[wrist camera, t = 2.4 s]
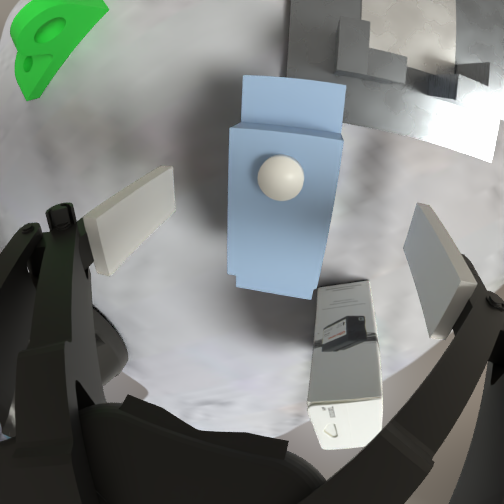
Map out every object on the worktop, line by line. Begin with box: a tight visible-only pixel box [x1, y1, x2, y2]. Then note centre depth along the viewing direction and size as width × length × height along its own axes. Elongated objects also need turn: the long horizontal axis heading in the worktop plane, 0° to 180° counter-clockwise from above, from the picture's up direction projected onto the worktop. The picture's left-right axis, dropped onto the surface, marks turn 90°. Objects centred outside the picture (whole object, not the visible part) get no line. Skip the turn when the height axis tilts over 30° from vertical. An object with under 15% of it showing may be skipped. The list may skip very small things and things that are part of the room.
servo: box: [227, 75, 346, 300], centre depth 17 cm, size 5×13×9 cm, turn 177°
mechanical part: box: [10, 0, 109, 101], centre depth 14 cm, size 12×6×8 cm, turn 122°
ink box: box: [307, 281, 383, 450], centre depth 22 cm, size 8×5×12 cm, turn 19°
